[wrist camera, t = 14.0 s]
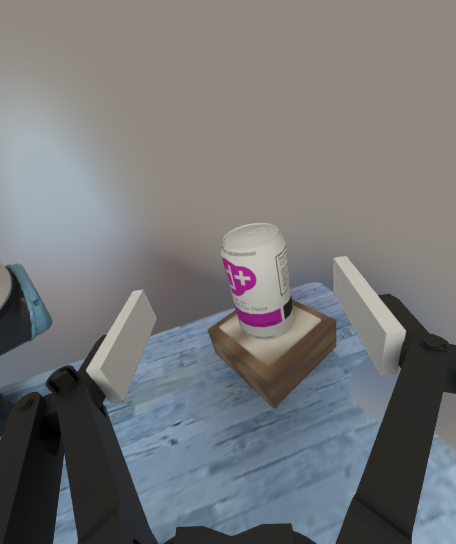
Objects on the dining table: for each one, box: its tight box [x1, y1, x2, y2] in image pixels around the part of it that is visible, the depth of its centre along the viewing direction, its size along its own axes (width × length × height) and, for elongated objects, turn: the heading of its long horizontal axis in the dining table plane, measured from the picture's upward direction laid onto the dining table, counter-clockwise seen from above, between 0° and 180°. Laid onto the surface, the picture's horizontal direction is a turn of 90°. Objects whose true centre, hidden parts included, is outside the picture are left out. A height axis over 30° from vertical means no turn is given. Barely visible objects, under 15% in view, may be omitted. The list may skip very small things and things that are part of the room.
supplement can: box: [221, 223, 294, 340], centre depth 35 cm, size 8×8×15 cm
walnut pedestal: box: [208, 300, 336, 408], centre depth 40 cm, size 14×14×6 cm
